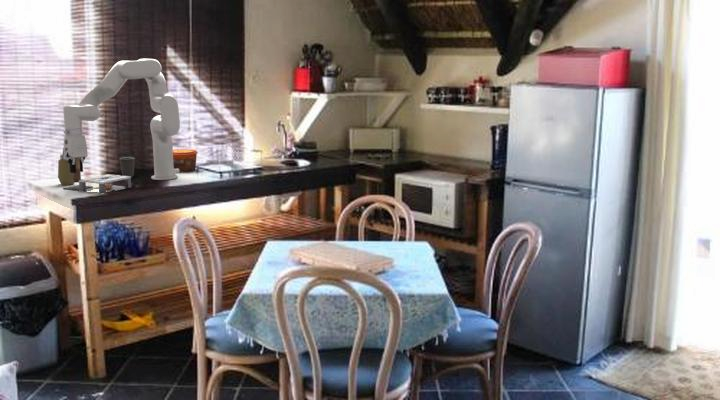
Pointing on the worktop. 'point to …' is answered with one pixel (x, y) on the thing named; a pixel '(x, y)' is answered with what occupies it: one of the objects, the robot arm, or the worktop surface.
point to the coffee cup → (127, 166)
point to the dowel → (77, 171)
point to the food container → (184, 160)
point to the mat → (76, 187)
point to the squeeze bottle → (64, 171)
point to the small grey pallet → (105, 182)
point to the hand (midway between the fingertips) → (76, 171)
